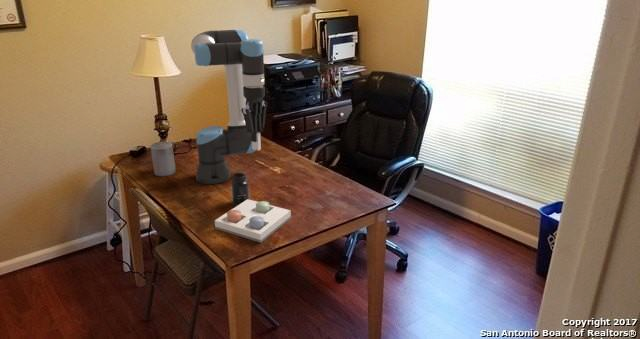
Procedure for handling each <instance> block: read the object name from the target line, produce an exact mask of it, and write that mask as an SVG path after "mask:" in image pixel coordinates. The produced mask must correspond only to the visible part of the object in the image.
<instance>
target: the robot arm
mask: <svg viewBox="0 0 640 339" xmlns="http://www.w3.org/2000/svg"><path fill="white" fill-rule="evenodd" d="M263 43H264V42H263V41H262V40H261V39H258V38H257V39H255V38H254V39H253V38H249V36H248V34H247V32H246V31H245V30H242V29H227V30H226V29H224V30H223V29H222V30H206V31H204V32H203V31H202V32H200V33H198V34H196V35H195V36H194V37H193V38H192V41H191V43H190V45H191V46H190V47H191V50H192V52H193V54H194V60H195V64H196V65H197V66H199V67H210V66H224V70H225V79H226V80H225V81H226V90H227V91H226V92H227V101H228V111H229V112H228V113H229V122H228V123H227V125H226V127H227V129H224V128H223V127H222V126H220V125H212V126H211V125H209V126H207V127H204V128H201V129H200V130H198V131H197V133H196V142H195V143H196V146H197V157H198V158H197V159H198V166H197V169H196V173H195V176H196V178H195V179H196V181H197V182H198V183H199V184H204V185H218V184H221V183H226V182H228V180H230V178H231V171H230V169H229V167H228V164H227V162H226V156H236V155H247V154H251V153H252V154H253V153H255V152H256V151H260V150H261V149H262V146H261V141H262V140H261V139H262V136H261V133H263V132H264V129H265V124H266V114H267V106H268V101H265V100H264V97H265V95H266V91H265V90H266V88H265V68H264V66H265V60H264V52H265V50H264V44H263Z"/></svg>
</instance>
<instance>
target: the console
mask: <svg viewBox="0 0 640 339" xmlns="http://www.w3.org/2000/svg"><path fill="white" fill-rule="evenodd" d="M257 202H258V201H255V200H251V199H250V198H249V199H247V200H246V201H244V202H243V203H241V204H239V205H235V207H234V208H231V209H230V210H229V211H231V210H239V211H240V212H241V221H239V222H238V223H236V224H235V223H232V222H228V220H227V212H226V213H224V214H223V215H221V216H219V217H218V218H216V219H215V220H214V228H215V229H216V230H217V231H221V232H225V233H227V234H231V235H235V236H238V237H240V238H241V237H242V238H245V239H248V240H251V241H253V242H258V243H260V244H262V243H263V241H265V240H267V238H269V237H270V236H271V235H272V234H274V233H275V232H276V231H278V229H279V228H281V227H283V225H284V224H286V223H287V222H288V221H290V220H291V219H292V215H291V214H292V212H291V210H290V209H287V208H283V207H280V206H275V205H272V204H269V212H267V213H266V214H262V213H259V212H256V203H257ZM254 216H261V217H263V218H264V227H263V228H262V229H260V230H255V229H252V228H250V218H251V217H254Z"/></svg>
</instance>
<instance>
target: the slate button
mask: <svg viewBox="0 0 640 339" xmlns="http://www.w3.org/2000/svg"><path fill="white" fill-rule="evenodd" d="M263 227H264V218H263V217H261V216H254V217H251V218H250V228H252V229H255V230H260V229H262V228H263Z"/></svg>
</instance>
